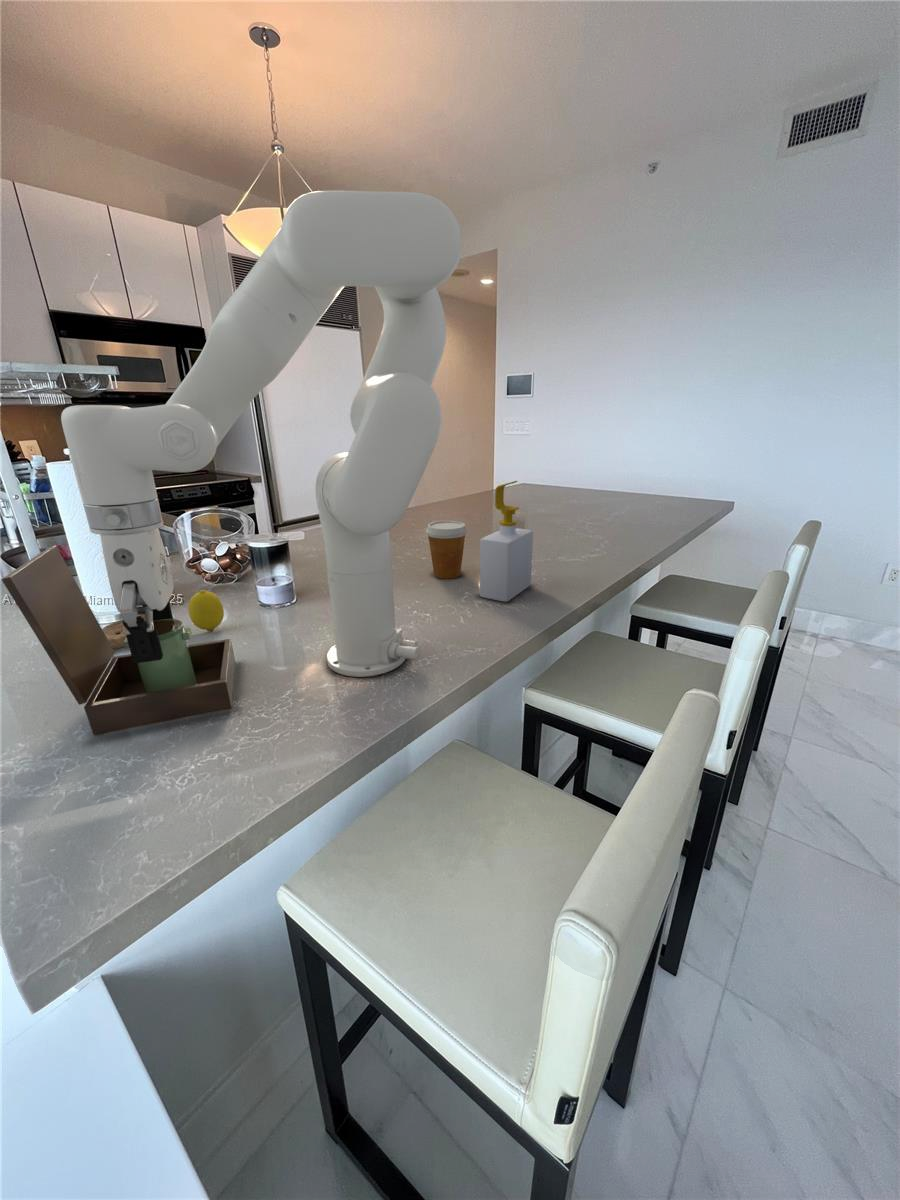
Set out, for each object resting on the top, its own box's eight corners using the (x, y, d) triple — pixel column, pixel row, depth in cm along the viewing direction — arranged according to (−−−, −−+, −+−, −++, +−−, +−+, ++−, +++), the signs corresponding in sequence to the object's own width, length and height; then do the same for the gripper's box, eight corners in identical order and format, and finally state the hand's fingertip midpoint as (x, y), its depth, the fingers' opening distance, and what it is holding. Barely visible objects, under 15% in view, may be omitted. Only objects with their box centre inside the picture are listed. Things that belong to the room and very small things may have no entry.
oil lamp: (102, 663, 78) (93, 635, 76) (77, 653, 81) (68, 626, 79) (179, 632, 88) (172, 606, 87) (154, 624, 92) (147, 599, 90)
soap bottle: (506, 603, 99) (510, 486, 90) (478, 597, 102) (479, 483, 94) (531, 585, 108) (537, 478, 100) (504, 580, 112) (507, 476, 103)
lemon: (214, 639, 86) (205, 596, 83) (186, 636, 87) (177, 594, 84) (233, 626, 91) (225, 585, 88) (207, 624, 92) (198, 583, 89)
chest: (236, 665, 77) (230, 638, 75) (232, 713, 65) (225, 681, 63) (121, 685, 72) (112, 656, 70) (95, 740, 60) (83, 707, 58)
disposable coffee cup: (422, 570, 119) (421, 522, 115) (459, 566, 122) (459, 519, 118) (433, 582, 111) (432, 531, 107) (472, 578, 114) (473, 527, 109)
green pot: (205, 677, 72) (190, 614, 68) (200, 699, 66) (185, 632, 63) (146, 687, 69) (128, 623, 66) (137, 711, 64) (116, 642, 60)
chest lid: (56, 545, 63) (49, 546, 63) (9, 577, 51) (0, 579, 51) (115, 652, 70) (109, 654, 70) (86, 702, 58) (78, 705, 58)
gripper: (146, 529, 52) (178, 669, 58) (171, 502, 67) (194, 616, 74) (63, 534, 50) (105, 680, 56) (107, 505, 65) (137, 622, 71)
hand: (155, 643), depth 65 cm, fingers open, 9 cm apart
